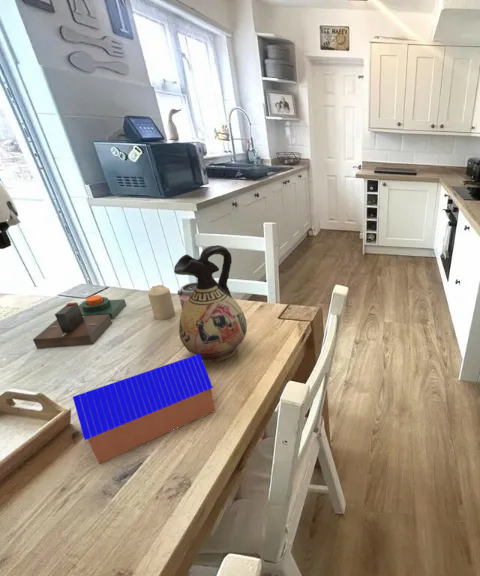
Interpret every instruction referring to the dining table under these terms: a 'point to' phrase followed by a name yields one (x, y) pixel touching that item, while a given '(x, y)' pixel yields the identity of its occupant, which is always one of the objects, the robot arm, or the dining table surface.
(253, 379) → the dining table surface
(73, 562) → the dining table surface
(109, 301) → the button box
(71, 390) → the dining table surface
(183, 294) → the pink lidded cup
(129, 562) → the dining table surface
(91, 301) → the button
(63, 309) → the dark grey block
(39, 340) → the panel
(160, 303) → the candle
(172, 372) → the house
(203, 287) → the ceramic jug
